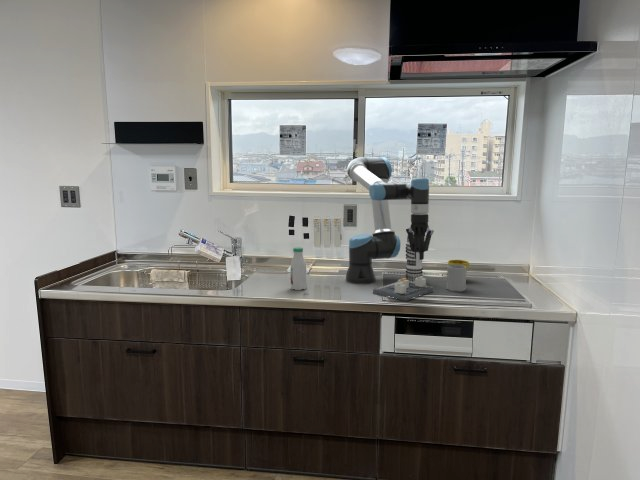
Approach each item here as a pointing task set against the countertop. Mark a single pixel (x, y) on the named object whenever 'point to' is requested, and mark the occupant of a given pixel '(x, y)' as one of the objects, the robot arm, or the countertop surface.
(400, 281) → the breaker mid
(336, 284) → the countertop surface
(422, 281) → the breaker right
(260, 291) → the countertop surface
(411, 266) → the decorative candle
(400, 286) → the breaker left
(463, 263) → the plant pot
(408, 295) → the panel
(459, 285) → the mug
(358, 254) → the robot arm
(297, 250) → the milk bottle
